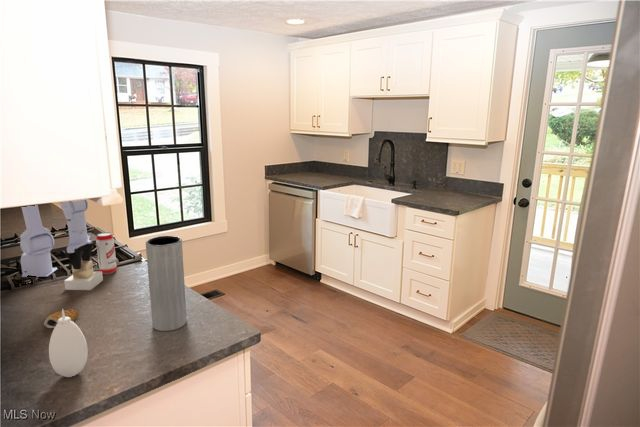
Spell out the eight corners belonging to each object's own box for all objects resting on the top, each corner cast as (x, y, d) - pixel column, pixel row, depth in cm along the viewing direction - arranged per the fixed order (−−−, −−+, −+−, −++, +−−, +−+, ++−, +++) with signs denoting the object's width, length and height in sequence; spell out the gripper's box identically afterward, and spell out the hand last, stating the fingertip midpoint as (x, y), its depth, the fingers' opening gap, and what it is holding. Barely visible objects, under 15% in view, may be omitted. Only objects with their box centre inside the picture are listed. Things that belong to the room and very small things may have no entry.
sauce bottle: (45, 380, 99) (34, 312, 95) (74, 362, 106) (65, 298, 102) (68, 388, 96) (58, 319, 92) (97, 369, 103) (89, 304, 99)
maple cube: (73, 278, 149) (71, 265, 147) (79, 273, 154) (78, 260, 152) (87, 278, 149) (86, 265, 148) (93, 273, 154) (92, 260, 153)
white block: (65, 290, 148) (64, 280, 147) (79, 280, 157) (78, 271, 156) (90, 291, 148) (89, 280, 147) (103, 281, 157) (102, 271, 156)
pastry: (66, 313, 131) (65, 302, 130) (85, 316, 130) (83, 305, 129) (42, 328, 122) (40, 316, 121) (61, 331, 121) (59, 319, 120)
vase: (152, 318, 129) (145, 237, 123) (185, 313, 133) (180, 234, 126) (152, 334, 120) (145, 247, 114) (187, 328, 124) (182, 243, 117)
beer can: (120, 269, 167) (116, 232, 164) (111, 275, 161) (107, 236, 157) (105, 268, 168) (101, 231, 164) (96, 274, 162) (91, 236, 158)
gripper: (80, 235, 140) (84, 272, 144) (97, 224, 154) (101, 257, 158) (58, 235, 140) (63, 272, 143) (77, 224, 154) (81, 258, 157)
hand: (81, 265), depth 150 cm, fingers open, 7 cm apart
